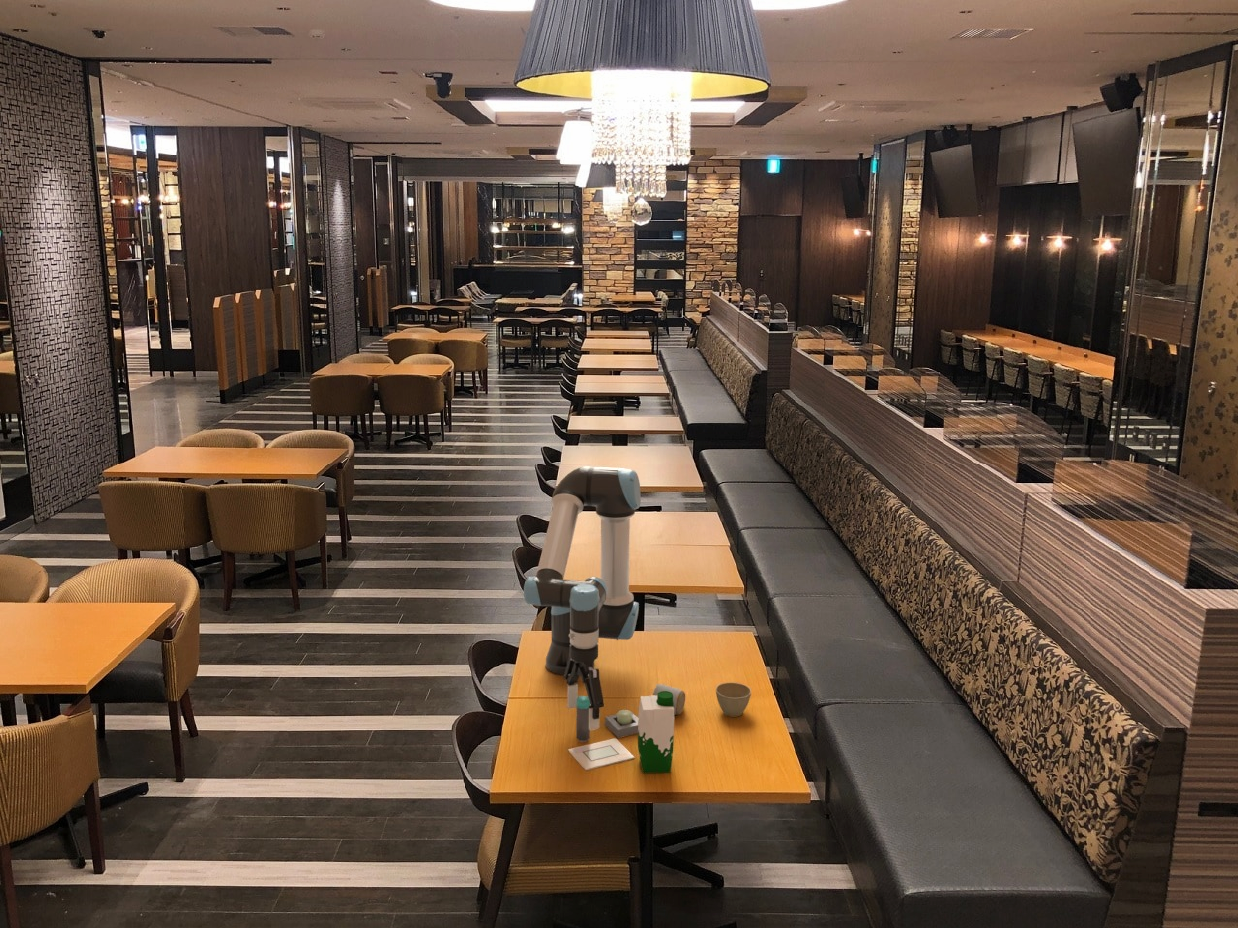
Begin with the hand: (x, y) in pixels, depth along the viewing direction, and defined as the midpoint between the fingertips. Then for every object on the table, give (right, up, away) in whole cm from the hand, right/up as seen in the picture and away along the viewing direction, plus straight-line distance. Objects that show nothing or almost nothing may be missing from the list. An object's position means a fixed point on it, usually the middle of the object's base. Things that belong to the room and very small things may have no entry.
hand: (583, 717), depth 279 cm
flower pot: (+42, -3, +18) cm, 46 cm away
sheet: (+5, -8, -5) cm, 11 cm away
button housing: (+11, -5, +9) cm, 15 cm away
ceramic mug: (+24, -3, +20) cm, 31 cm away
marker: (0, -6, +2) cm, 7 cm away
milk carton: (+19, -10, -10) cm, 24 cm away
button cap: (+11, -3, +8) cm, 14 cm away
